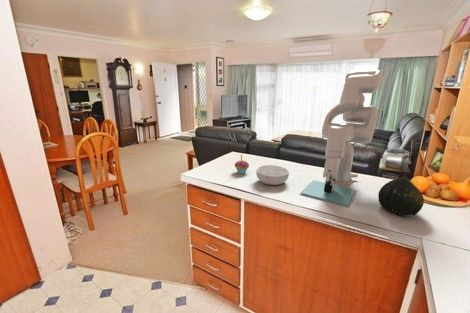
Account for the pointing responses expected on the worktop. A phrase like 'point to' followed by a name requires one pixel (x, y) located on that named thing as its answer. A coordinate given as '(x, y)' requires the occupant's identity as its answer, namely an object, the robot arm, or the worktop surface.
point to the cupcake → (241, 166)
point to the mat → (331, 202)
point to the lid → (336, 196)
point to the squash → (401, 197)
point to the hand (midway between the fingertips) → (329, 189)
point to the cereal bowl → (272, 174)
